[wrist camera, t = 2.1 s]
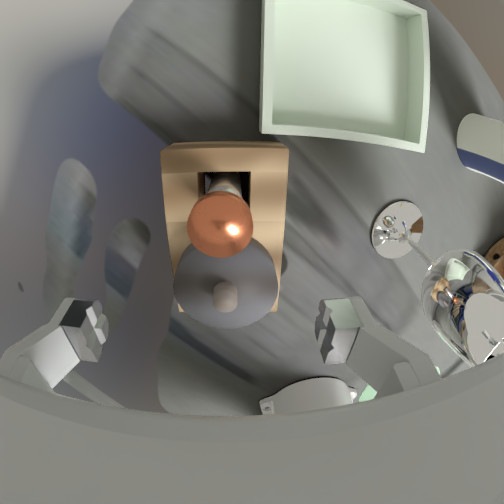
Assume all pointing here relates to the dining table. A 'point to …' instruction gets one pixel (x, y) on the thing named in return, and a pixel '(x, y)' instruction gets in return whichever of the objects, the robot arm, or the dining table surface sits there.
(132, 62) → the dining table surface
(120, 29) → the dining table surface
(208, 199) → the lock pin
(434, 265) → the wineglass
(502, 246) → the brown l-shaped piece
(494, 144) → the water bottle
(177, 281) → the block
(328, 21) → the tray
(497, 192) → the dining table surface
